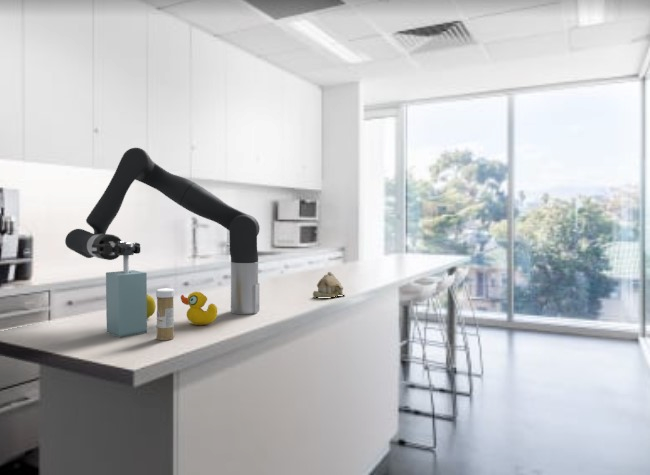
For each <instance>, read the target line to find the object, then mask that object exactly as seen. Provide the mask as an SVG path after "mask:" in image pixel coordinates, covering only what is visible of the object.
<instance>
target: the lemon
mask: <svg viewBox="0 0 650 475" xmlns="http://www.w3.org/2000/svg"><path fill="white" fill-rule="evenodd" d="M156 306H157V304H156V301H155V298H154V297H153V296H151V295H149V294H147V320H148V319H149V318H150V317H152V316H153V315H154V314H155V311H156V309H157V307H156Z"/></svg>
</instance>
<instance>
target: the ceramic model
mask: <svg viewBox="0 0 650 475" xmlns="http://www.w3.org/2000/svg"><path fill="white" fill-rule="evenodd" d="M316 287H317V290H314V291H313V292H312V296H313V298H314V297H334V296H338V295H343V294H344V293H343V290H344V287H343V285H342V283H341V282H340V280H339V279H338V278H336V276H335V275H334V273H332V271H329V272H327V274H325V275H324V276H322V277H321V278H320V280H319V281H318V283H317V284H316Z"/></svg>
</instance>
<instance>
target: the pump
mask: <svg viewBox="0 0 650 475" xmlns="http://www.w3.org/2000/svg"><path fill="white" fill-rule="evenodd" d="M118 246H123V248H124V254H121V255H120V254H118V255H120V256H123V258H122V259H123V263H122V265H123V266H122V267H123V270H122V271H124V273H129V271H130V266H129V265H130V260H129V259H130V258H129V257H130V256H134V254H135V253H134V250H135V247H134V244H133V243H130V244H118Z"/></svg>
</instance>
